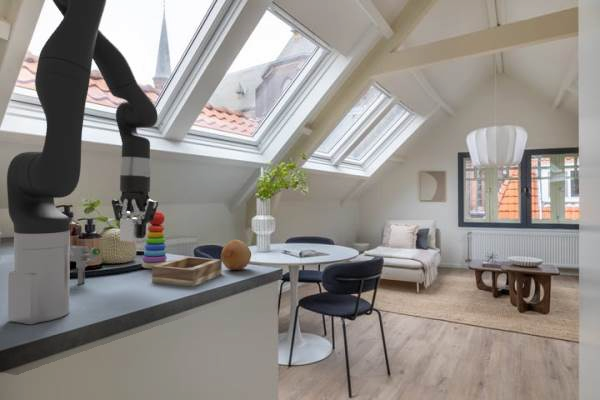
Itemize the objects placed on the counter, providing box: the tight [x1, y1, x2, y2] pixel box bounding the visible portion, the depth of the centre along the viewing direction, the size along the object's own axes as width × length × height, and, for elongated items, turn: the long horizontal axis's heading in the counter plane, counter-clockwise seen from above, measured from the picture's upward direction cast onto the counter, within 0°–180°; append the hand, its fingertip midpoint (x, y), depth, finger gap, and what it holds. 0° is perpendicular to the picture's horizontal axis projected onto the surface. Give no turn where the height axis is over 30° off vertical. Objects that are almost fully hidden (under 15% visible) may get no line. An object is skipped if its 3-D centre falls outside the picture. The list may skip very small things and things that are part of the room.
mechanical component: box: [70, 245, 101, 285], centre depth 98 cm, size 3×10×10 cm, turn 79°
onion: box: [220, 239, 252, 271], centre depth 120 cm, size 10×10×10 cm
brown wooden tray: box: [151, 256, 223, 287], centre depth 107 cm, size 16×13×4 cm
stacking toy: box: [141, 210, 168, 269], centre depth 121 cm, size 8×8×19 cm
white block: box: [119, 217, 149, 243], centre depth 99 cm, size 6×4×6 cm, turn 164°
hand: (133, 237), depth 99 cm, fingers closed on white block, 4 cm apart
